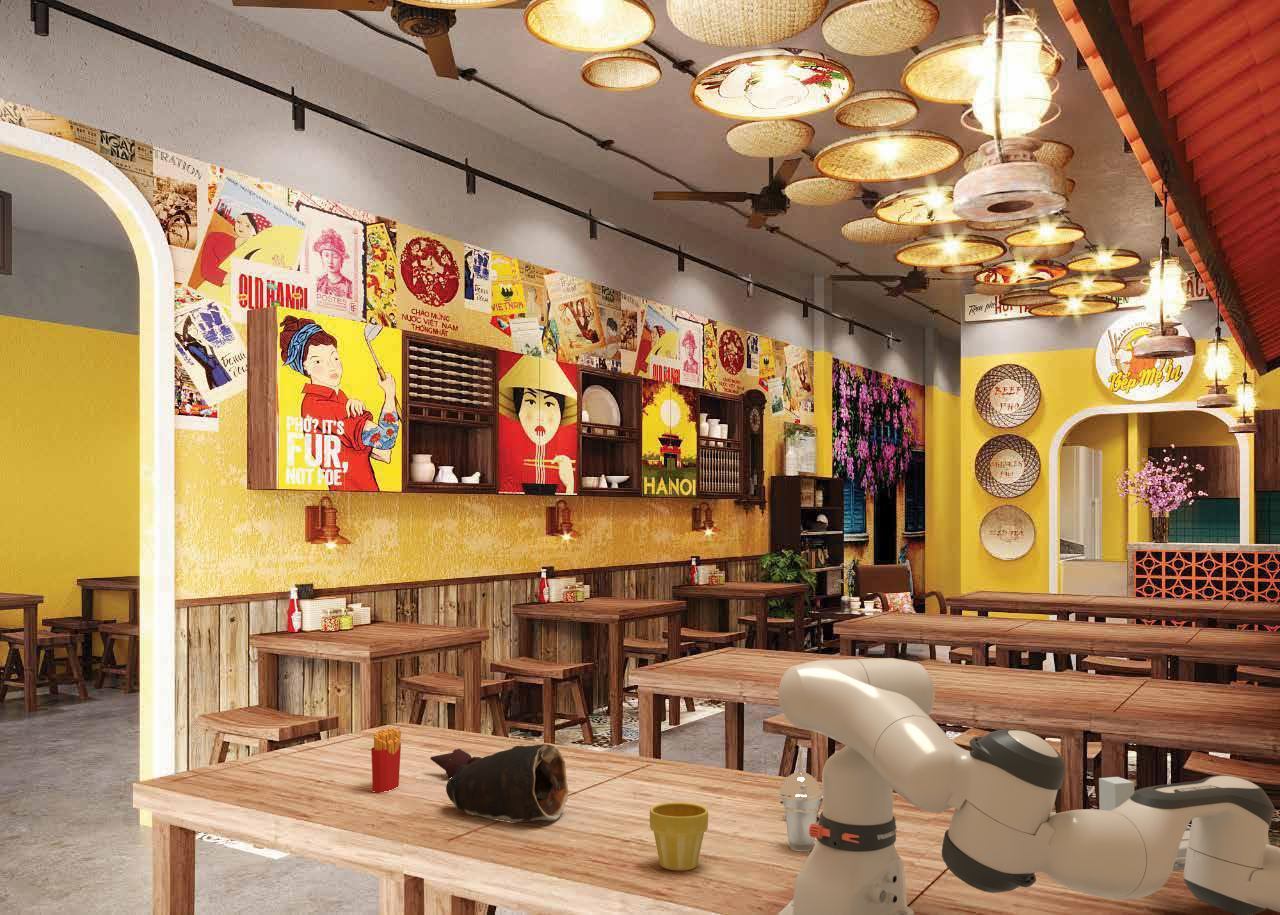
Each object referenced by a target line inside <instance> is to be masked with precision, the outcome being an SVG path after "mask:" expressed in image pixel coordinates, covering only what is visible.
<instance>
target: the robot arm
mask: <svg viewBox="0 0 1280 915" xmlns="http://www.w3.org/2000/svg"><path fill="white" fill-rule="evenodd" d="M777 692H778V693H777V695H778V696H777V698H778V704H779V707H780V710H781V712H782V714H783V715H784V717H785V719H786V720H787V721H788V722H789V723H790V724H791V725H792V726H793V727H797V728H801V729H803V730H805V729H806V730H809V731H812V732H815V733H818V734H820V735H821V734H822V735H823V736H825V737H828V738H830V739H833V740H834V741H836V742H839V743H840V744H842V745H843V746H844V747H843V748H841V749H840V750H838V751H836V752H834V753H832V755H831V756H829V758H827V760H826V761H825V763H824V766H823V769H822V776H821V778H822V784H821V785H822V788H821V790H822V798H823V801H822V811H821V813H820V814H819V820H817V821H818V822H817V823H816V824H813V823H812V824H811V825H810V828H809V832H810V833H809V835H810V836H811V837H815V838H816V840H817V841H816V842H815V844H814V845H813V850H811V852H809V855H808V857H807V858H806V860H805V862H804V863H803V864H802V867H801V869H800V871H799V873H798V874H797V876H796V878H795V881H794V887H793V899H791V901H789V902H788V904H787V905H786V906H784V908H782V910H780V911H779V913H778V914H777V915H915V910H913V909H912V908H911V907H909V906H908V902H907V901H908V899H907V889H906V888H907V887H906V876H905V866H904V865H905V864H904V861H903V860H902V858H901V857H900V855H899V853H898V851H897V848H896V846H895V843H896V841H897V832H898V831H897V830H898V828H897V824H896V818H895V816H894V815H893V814H894V813H893V812H894V805H893V804H894V801H893V800H894V792H895V793H897V794H898V795H899V796H900V797H901V798H903V799H904V800H905V801H907V802H908V803H909V804H911V805H912V806H914V807H916V808H917V809H919V810H922V811H925V812H928V813H941V812H945V811H949V809H951V808H954V810H953V814H952V816H951V819H950V823H949V827H948V828H947V830H945V832H944V836H943V840H942V845H941V847H942V848H941V858H942V860H943V862H944V863H945V865H946V867H947V869H948V870H949V871H950V872H951V874H953V875H954V876H955V877H956V878H958V879H959V880H961V881H962V882H964V883H965V884H967V885H969V886H971V887H973V888H975V889H977V890H979V891H982V892H986V893H991V894H995V893H1005V892H1011V891H1014V890H1016V889H1017V888H1019V887H1021V888H1029V887H1031V886H1033V885H1034V884H1035V883H1036V881H1037V878H1036V875H1035V873H1042V874H1045V876H1046V875H1047V877H1050V878H1051V879H1052V880H1054V882H1056V883H1058V884H1059V885H1062V886H1063V887H1067V888H1068V889H1071V890H1074V891H1077V892H1080V893H1083V894H1085V895H1086V894H1087V895H1090V896H1095V897H1099V898H1106V899H1114V900H1115V899H1118V900H1137V899H1142V898H1145V897H1148V896H1150V895H1153V894H1154V893H1156V892H1158V891H1159V890H1160V889H1162V887H1164V885H1166V883H1167V882H1168V880H1169V878H1170V876H1171V874H1172V872H1176V871H1183V878H1182V879H1183V882H1184V884H1185V886H1186V887H1187V888H1188V890H1189V891H1190V892H1191V894H1192V895H1193V896H1194V897H1195V898H1196V899H1197V900H1200V901H1202V902H1205V903H1207V904H1208V905H1211V906H1213V907H1215V908H1217V909H1219V910H1222V911H1224V912H1227V913H1229V914H1233V915H1256V914H1259V913H1262V912H1264V911H1266V910H1267V909H1269V910H1271V911H1274V912H1277V913H1280V847H1278V846H1276V845H1272V844H1270V841H1269V830H1270V828H1271V825H1272V820H1273V817H1274V814H1275V807H1274V805H1273V803H1272V801H1271V799H1270V797H1269V796H1268V794H1266V792H1265V790H1263V788H1262V787H1261V786H1259V785H1257V784H1255V783H1253V782H1251V781H1250V780H1247V779H1244V778H1240V777H1236V776H1230V775H1217V776H1216V775H1214V776H1207V777H1205V778H1203V779H1200V780H1195V781H1185V782H1177V783H1169V784H1168V783H1167V784H1161V785H1153V786H1152V785H1151V786H1147V787H1142V788H1139V789H1136V790H1135V791H1134V794H1133V795H1132V796H1131V797H1130V798H1129V799H1128V800H1127V801H1126V802H1124V803H1123V804H1122V805H1120V806H1119V807H1117V808H1115V809H1113V810H1110V811H1108V810H1100V808H1099V809H1093V808H1089V809H1088V808H1086V809H1081V808H1080V809H1071V810H1065V811H1061V812H1057V813H1056V812H1053V807H1054V805H1055V801H1056V798H1057V794H1058V791H1059V790H1061V789H1062V787H1063V783H1064V779H1065V778H1064V777H1065V773H1066V762H1065V761H1064V759H1063V757H1062V755H1061V754H1060V752H1058V751H1057V749H1055V748H1054V747H1052V745H1050V744H1049V742H1047V741H1046V740H1045V739H1043V738H1042V737H1040V736H1038V735H1036V734H1034V733H1031V732H1028V731H1023V730H1018V729H1014V728H1004V729H997V730H994V731H990V732H989V733H987V734H986V735H984V736H973V737H972V738H971V739H970V740H969V741H968V742H969V746H970V748H971V749H972V750H967V749H965V748H963V747H961V746H959V745H957V744H956V743H955V742H954V741H953V740H952V739H951V737H949V736H948V734H947V733H946V732H945V731H944V730H943V729H942V728H941V727H940V726H939V725H938V724H937V722H935V720H933V718H931V717H930V714H931V712H932V710H933V708H934V705H935V701H936V690H935V685H934V681H933V678H932V677H931V675H930V673H929V672H928V670H927V669H926V668H925V667H924V666H923V664H921V663H919V662H914V661H910V660H907V659H901V658H900V659H899V658H894V657H888V658H887V657H885V658H883V657H882V658H880V657H878V658H853V659H850V658H848V659H825V660H824V659H816V660H812V661H808V662H803V663H800V664H797V665H796V664H795V665H793V666H791V665H790V667H789V668H788V669H787V670H786V671H785V672H784V674H783V675H782V677H781V679H780V681H779V684H778V690H777ZM1190 823H1191V825H1190ZM1189 825H1190V826H1189Z"/></svg>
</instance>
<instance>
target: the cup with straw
mask: <svg viewBox="0 0 1280 915" xmlns="http://www.w3.org/2000/svg"><path fill="white" fill-rule="evenodd" d="M794 748H795V749H796V750H797V751H798V771H796V772H794V773H791V774H790V775H788V776H787V777H786V778H785V779H784V782H783V784H782V786H781V787H780V788H779V789H778V793H777V794H778V796H779V797H780V798H781V799H782V801H783V808H784V813H785V816H784V817H785V824H786V833H787V842H788V843H789V844H788V845H789V846H788V848H789V849H790V850H791V851H794V852H800V853H801V852H804V853H806V852H810V851H812V850H813V848H814V843H815V838H816V837H811V836H810V835H809V833H810V832H809V828H810V825H811V824H812V823H813V824H816V825H817V821H818V820H817V817H818V814H817V811H818V808H819V804H820V799H822V788H820V785H819V782H817V779H816V778H815V777H814V776H812V775H811V774H809V773H808V772H803V746H802V744H800V743H799V744H797V745H795V747H794ZM818 812H819V811H818Z"/></svg>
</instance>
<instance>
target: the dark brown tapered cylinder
mask: <svg viewBox="0 0 1280 915" xmlns="http://www.w3.org/2000/svg"><path fill="white" fill-rule="evenodd" d="M566 770H567V768H566V760H564V757H563V755H562V753H561V752H560V750H559V749H558V748H557V747H555V746H554V744H549V743H548V744H545V743H544V744H535V745H515V746H514V747H512V748H510V749H506V750H501V751H498V752H495V753H493V754H492V755H491V754H490V755H486V756H483V757H481V759H479V760H476V761H474V762H473V763H471V764H469V765H463V766H461V767H460V768H459V769H458V770H457V772H456V774H455V775H454V776H453V777H452V778H451V779H450V778H449V779H448V781H447V783H446V786H445V791H446V795H447V796H448V799H449V800H450V801H451V802H452V803H453V805H454V806H455V807H456V808H457V809H458V810H459V811H462V812H464V813H465V814H467V813H469V814H473V815H472V816H476V815H477V816H478V817H479V816H480V817H483V818H486V819H489V818H492V819H491V820H493V819H498V820H504V821H510V822H519V823H525V822H532V821H549V822H551V821H556V820H558V819H559V818H560V817H561V815H562V812H563V810H564V808H565V807H566V803H567V801H568V797H569V785H568V779H567V771H566ZM469 814H468V815H469ZM477 816H476V817H477Z"/></svg>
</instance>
